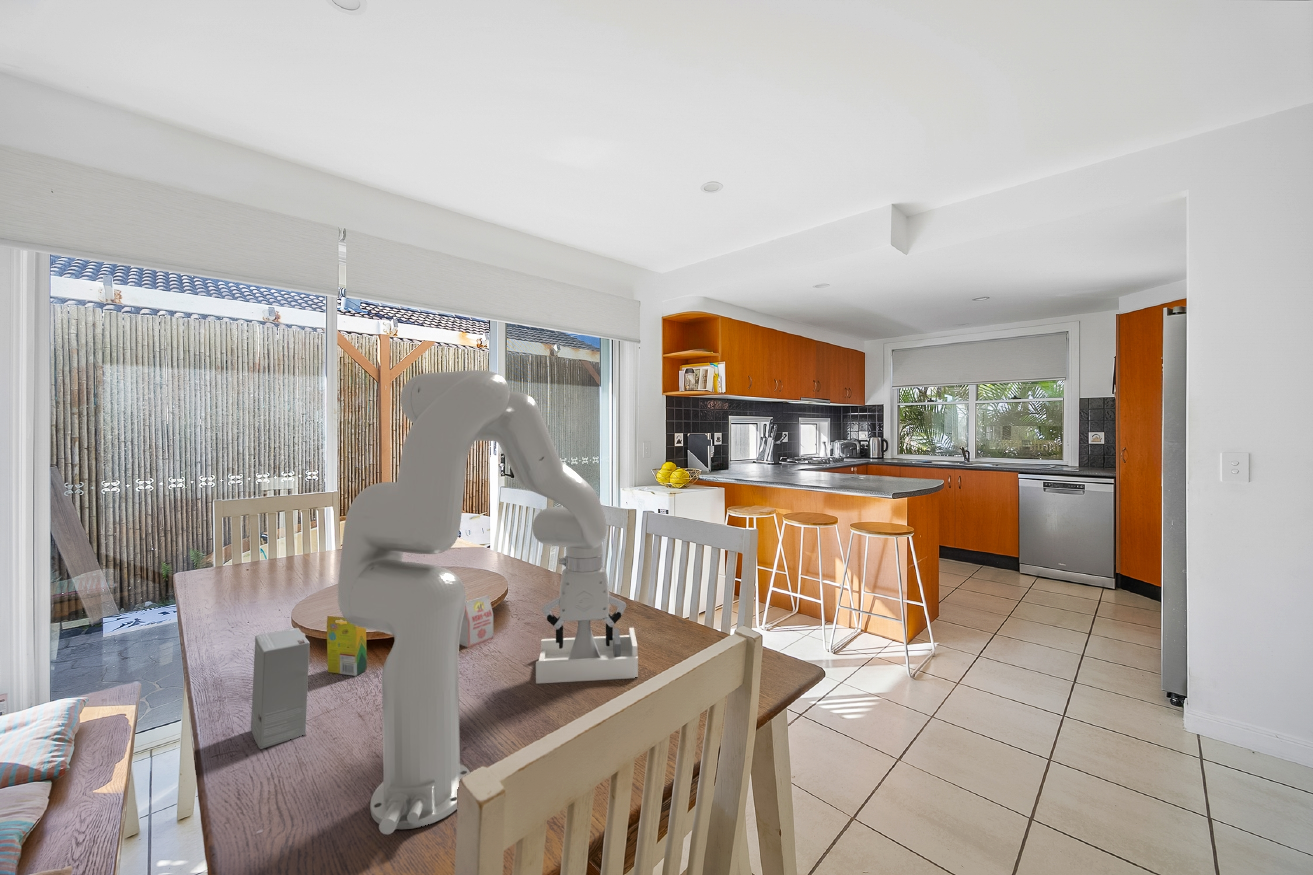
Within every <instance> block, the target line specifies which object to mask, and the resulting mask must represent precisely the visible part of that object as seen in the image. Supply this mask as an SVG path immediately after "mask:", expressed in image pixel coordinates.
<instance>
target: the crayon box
mask: <svg viewBox="0 0 1313 875" xmlns="http://www.w3.org/2000/svg"><path fill="white" fill-rule="evenodd" d="M326 618H327V619H326V645H327V646H326V647H327V648H326V649H327V652H326V653H327V655H326V656H327V673H331V674H340V675H346V676H347V675H348V676H353V677H358V676H359V675H361V674H362V673H364V672H366V671H367V669H368V663H367V655H368V654H367V629H365V628H361V627H358V626H355V625H353V624H351V623H349V622H348V621H347V620H346V619H345V618H344V617H343V616H333V615H332V616H331V615H327V617H326Z"/></svg>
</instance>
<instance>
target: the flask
mask: <svg viewBox="0 0 1313 875" xmlns="http://www.w3.org/2000/svg"><path fill="white" fill-rule="evenodd" d="M591 626H592V625H591V621H577V630H576V634H575V637H574V638H575V640H574V644H573V647H572V649H571V652H570V655H569V658H568V659H588V658H601V656H600V654H599V651H598V648H597V646H596V643H595V640H594V637H595V636H594V635H593V631H592V627H591Z"/></svg>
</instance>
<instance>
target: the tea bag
mask: <svg viewBox="0 0 1313 875" xmlns="http://www.w3.org/2000/svg"><path fill="white" fill-rule="evenodd" d="M489 639H491V640H493V639H494V612H493V607H492V603H491V599H490V595H488V594H487V595H484V596H483V595H482V596H480V597H477V598H474V599H469V600H466V605H465V611H464V616H463V621H462V626H461V632H460V640H459V645H461V646H463V647H465V648H467V649H468V648H471V647H474V646H477V645H480V644H482V643H485V642H487V641H490V640H489Z"/></svg>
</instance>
